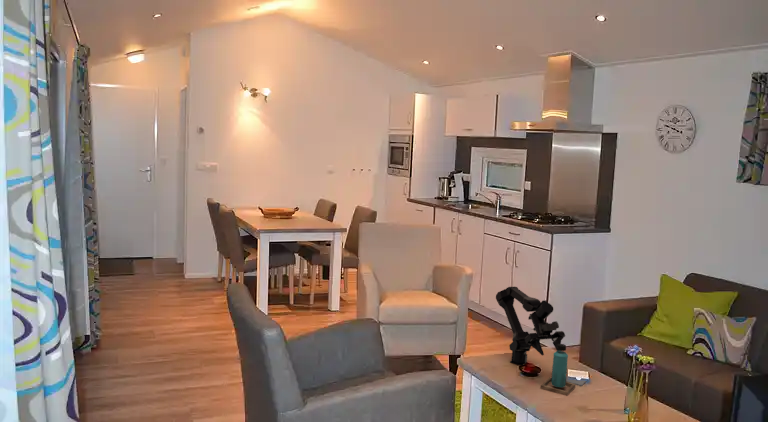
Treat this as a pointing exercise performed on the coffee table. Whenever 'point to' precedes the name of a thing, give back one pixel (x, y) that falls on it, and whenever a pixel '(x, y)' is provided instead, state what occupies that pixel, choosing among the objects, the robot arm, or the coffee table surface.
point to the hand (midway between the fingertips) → (551, 354)
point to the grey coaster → (576, 382)
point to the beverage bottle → (559, 366)
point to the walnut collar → (571, 387)
